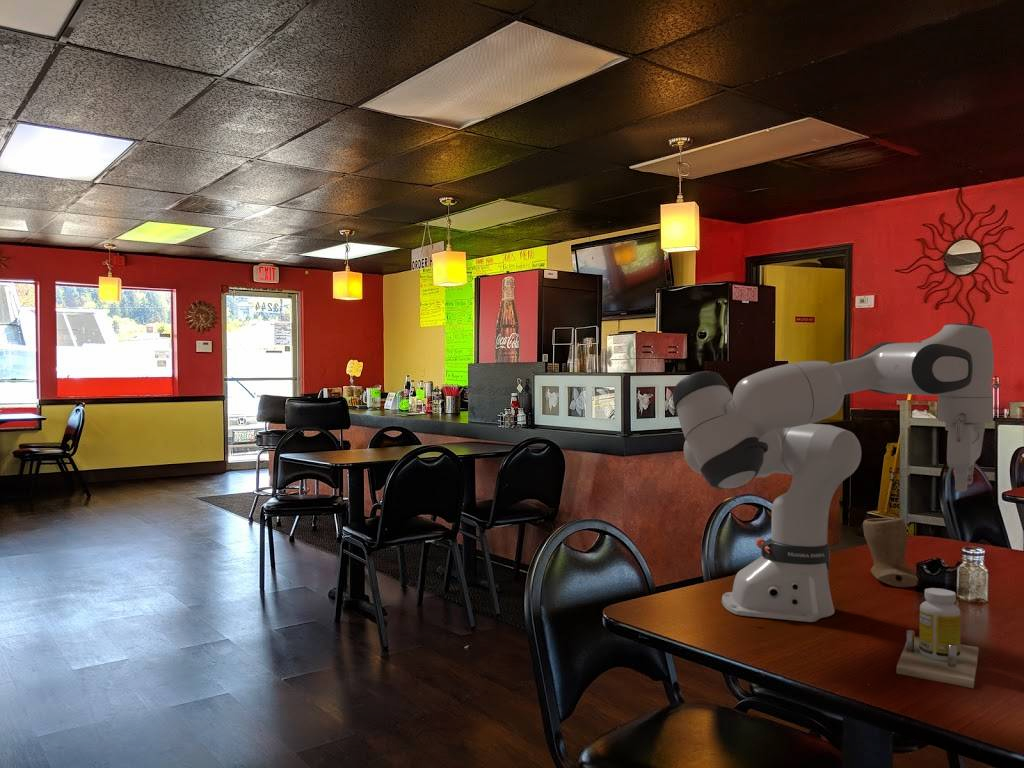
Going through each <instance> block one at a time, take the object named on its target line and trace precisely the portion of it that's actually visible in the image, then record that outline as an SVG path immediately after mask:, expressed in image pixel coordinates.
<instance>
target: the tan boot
mask: <svg viewBox="0 0 1024 768" xmlns="http://www.w3.org/2000/svg"><path fill="white" fill-rule="evenodd" d="M862 528H863V535H864V536H863V537H864V538H865V541H866V544H867V546H868V549H869V551H870V554H871V557H872V560H873V566H871V568H870V572H871V574H872V575H873V576H874V577H875V578H876V579H877V580H878V581H879V582H882V583H884V584H887V585H889V586H891V587H892V586H893V587H896V588H909V587H911V588H912V587H917V586H918V585H917V581H918V578H917V576H916V573H917V572H916V571H915V570H914V569H913V568H911V567H907V565H906V551H907V545H908V533H907V526H906V522H905V520H904V519H903V518H900V517H899V518H898V517H891V516H890V517H881V518H878V517H877V518H868V519H865V520H863V522H862ZM916 585H917V586H916Z"/></svg>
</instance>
